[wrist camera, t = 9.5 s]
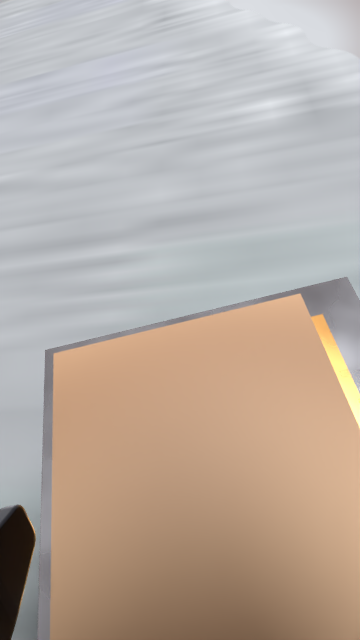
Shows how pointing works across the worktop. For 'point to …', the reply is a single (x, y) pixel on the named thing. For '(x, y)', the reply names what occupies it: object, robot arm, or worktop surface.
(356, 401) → the square socket
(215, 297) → the worktop surface
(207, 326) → the tan square block
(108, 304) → the worktop surface
